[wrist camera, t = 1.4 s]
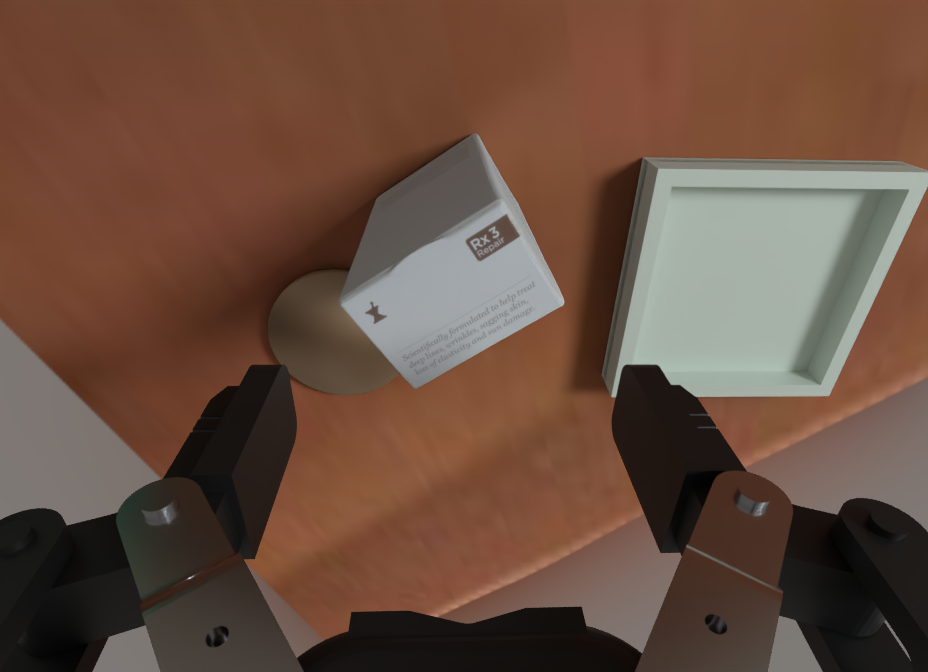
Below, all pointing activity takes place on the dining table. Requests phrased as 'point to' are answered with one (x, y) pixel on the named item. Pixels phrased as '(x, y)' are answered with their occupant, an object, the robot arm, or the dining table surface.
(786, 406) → the dining table surface
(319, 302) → the coaster
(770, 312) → the tray
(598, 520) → the dining table surface
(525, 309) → the skincare box
